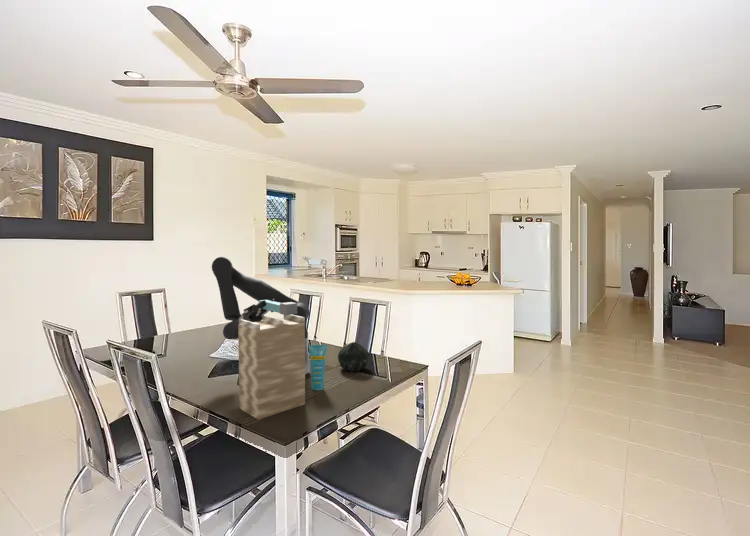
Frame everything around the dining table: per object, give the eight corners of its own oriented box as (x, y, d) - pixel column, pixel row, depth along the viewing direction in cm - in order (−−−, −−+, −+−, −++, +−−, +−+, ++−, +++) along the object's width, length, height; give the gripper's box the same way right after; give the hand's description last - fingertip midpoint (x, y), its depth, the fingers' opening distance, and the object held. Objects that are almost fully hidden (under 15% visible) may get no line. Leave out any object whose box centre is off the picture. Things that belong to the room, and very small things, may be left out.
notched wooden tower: (239, 408, 156) (238, 319, 153) (284, 394, 170) (284, 312, 168) (258, 419, 146) (257, 324, 144) (305, 404, 160) (304, 317, 158)
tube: (309, 391, 174) (309, 346, 172) (308, 387, 178) (308, 343, 177) (327, 390, 175) (327, 345, 174) (326, 386, 180) (326, 342, 179)
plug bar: (256, 307, 167) (256, 298, 167) (267, 306, 171) (267, 297, 171) (285, 315, 153) (285, 304, 152) (297, 313, 156) (297, 303, 156)
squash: (352, 351, 216) (342, 334, 206) (376, 357, 208) (367, 339, 199) (339, 374, 207) (328, 357, 198) (365, 381, 200) (354, 364, 190)
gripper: (233, 311, 172) (251, 294, 161) (263, 307, 182) (282, 291, 171) (237, 328, 170) (256, 312, 159) (268, 323, 180) (287, 308, 169)
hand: (269, 301), depth 165 cm, fingers closed on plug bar, 3 cm apart
